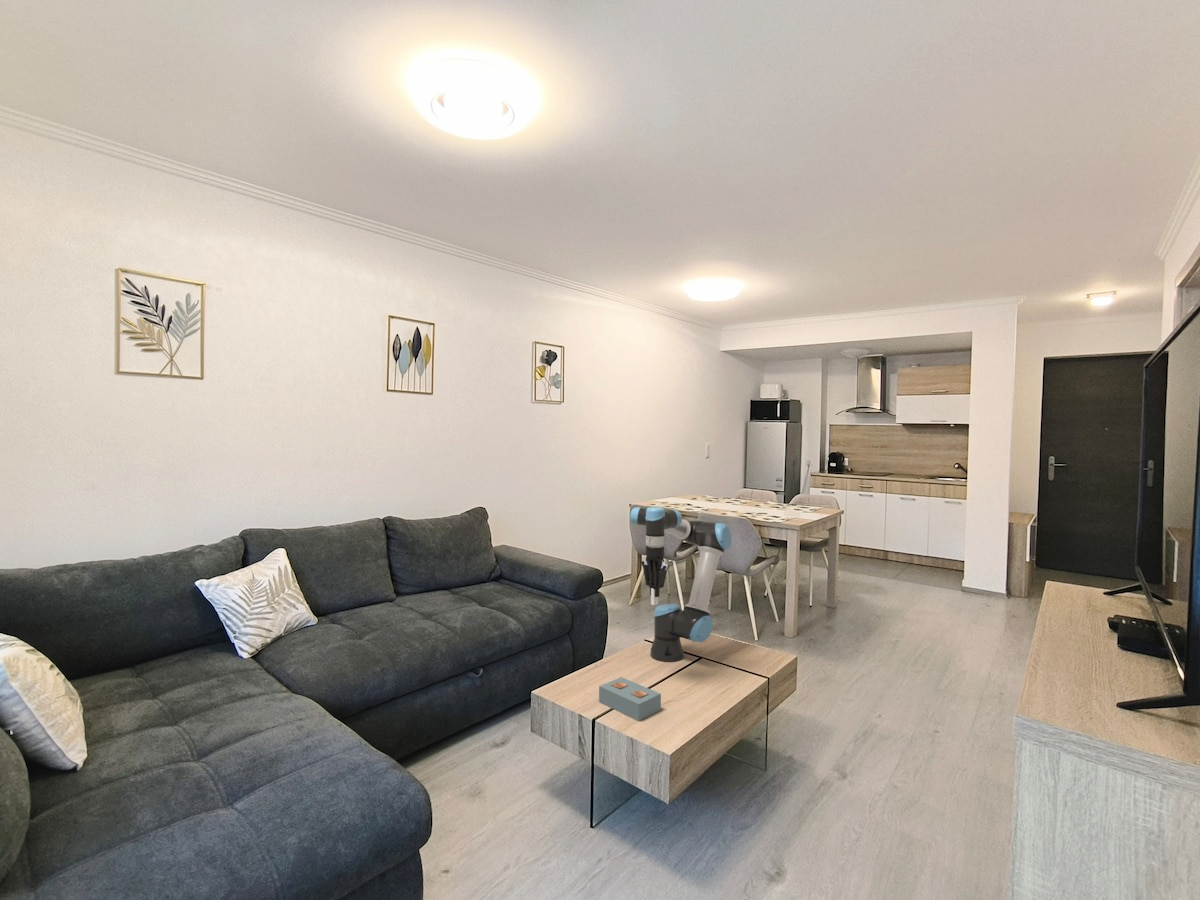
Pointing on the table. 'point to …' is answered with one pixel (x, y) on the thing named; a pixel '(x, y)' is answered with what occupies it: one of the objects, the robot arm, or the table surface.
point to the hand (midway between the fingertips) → (654, 604)
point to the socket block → (630, 699)
